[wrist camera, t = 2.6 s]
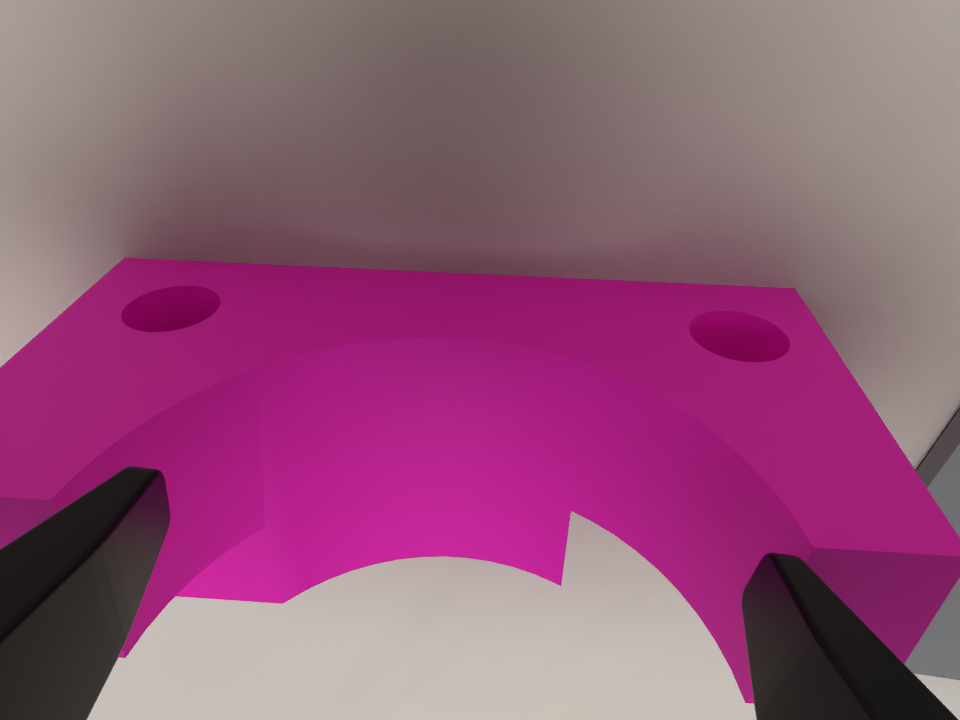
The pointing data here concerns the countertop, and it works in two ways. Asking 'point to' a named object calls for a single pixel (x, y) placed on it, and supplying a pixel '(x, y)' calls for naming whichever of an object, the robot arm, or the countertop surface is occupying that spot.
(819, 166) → the countertop surface
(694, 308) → the magenta arched bracket
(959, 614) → the mat
